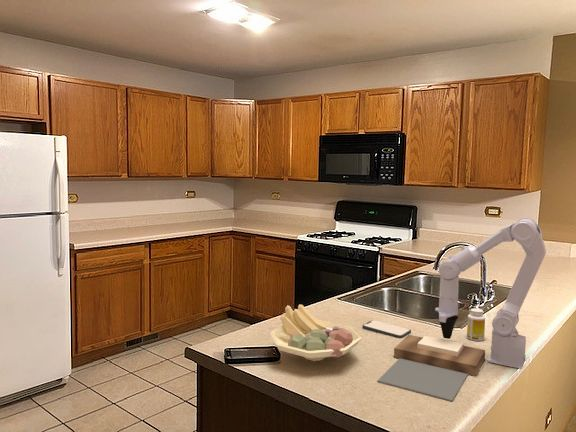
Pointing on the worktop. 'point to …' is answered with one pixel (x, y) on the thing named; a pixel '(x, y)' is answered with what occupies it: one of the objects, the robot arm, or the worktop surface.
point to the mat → (424, 379)
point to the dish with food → (313, 335)
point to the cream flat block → (440, 345)
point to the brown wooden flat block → (441, 356)
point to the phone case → (386, 329)
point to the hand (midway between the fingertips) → (447, 337)
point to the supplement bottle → (476, 325)
